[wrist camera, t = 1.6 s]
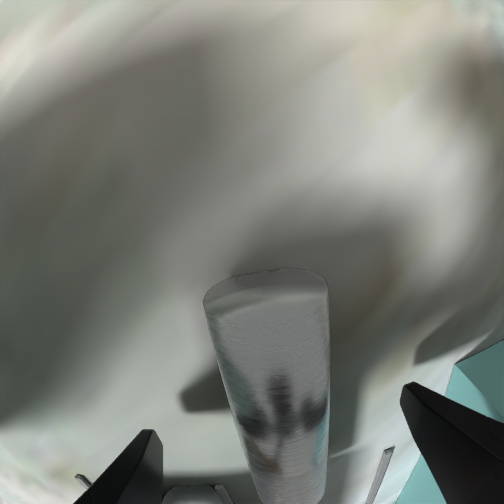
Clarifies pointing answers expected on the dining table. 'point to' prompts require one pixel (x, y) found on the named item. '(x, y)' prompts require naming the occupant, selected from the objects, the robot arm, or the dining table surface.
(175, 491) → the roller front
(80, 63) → the dining table surface
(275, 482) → the roller
